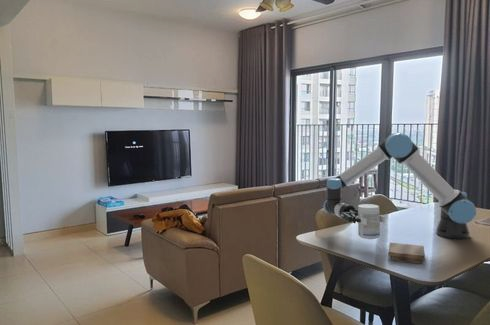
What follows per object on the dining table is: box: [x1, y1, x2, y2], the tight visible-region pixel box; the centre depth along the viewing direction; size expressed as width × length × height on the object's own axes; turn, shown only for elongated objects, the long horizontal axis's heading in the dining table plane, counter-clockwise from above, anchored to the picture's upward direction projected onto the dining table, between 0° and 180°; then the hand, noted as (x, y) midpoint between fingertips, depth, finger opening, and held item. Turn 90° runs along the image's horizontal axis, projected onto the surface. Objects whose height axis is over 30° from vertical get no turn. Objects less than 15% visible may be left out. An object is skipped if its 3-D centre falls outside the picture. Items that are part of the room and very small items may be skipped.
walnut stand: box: [387, 242, 426, 265], centre depth 161 cm, size 14×14×4 cm
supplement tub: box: [357, 203, 381, 240], centre depth 172 cm, size 10×10×15 cm
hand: (375, 220), depth 168 cm, fingers closed on supplement tub, 9 cm apart
